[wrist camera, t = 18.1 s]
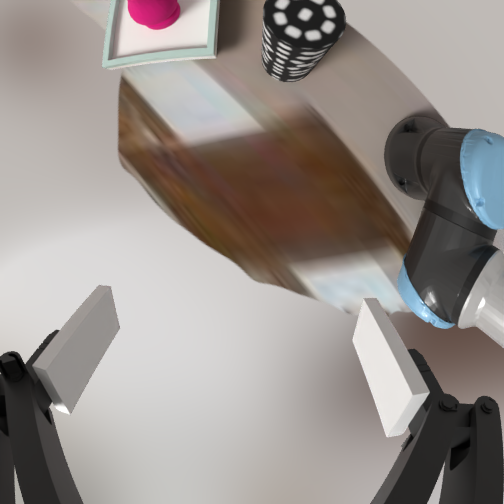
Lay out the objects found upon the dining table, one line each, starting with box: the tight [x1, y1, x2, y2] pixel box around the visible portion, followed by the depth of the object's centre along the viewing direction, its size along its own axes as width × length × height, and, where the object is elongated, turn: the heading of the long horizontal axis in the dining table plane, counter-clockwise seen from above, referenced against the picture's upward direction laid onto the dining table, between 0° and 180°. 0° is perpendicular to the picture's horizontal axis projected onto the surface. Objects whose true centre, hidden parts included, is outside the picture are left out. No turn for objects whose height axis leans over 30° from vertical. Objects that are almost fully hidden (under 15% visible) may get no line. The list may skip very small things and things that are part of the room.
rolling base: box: [102, 0, 220, 70], centre depth 34 cm, size 18×18×6 cm
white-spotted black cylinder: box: [262, 0, 346, 82], centre depth 31 cm, size 8×8×20 cm
